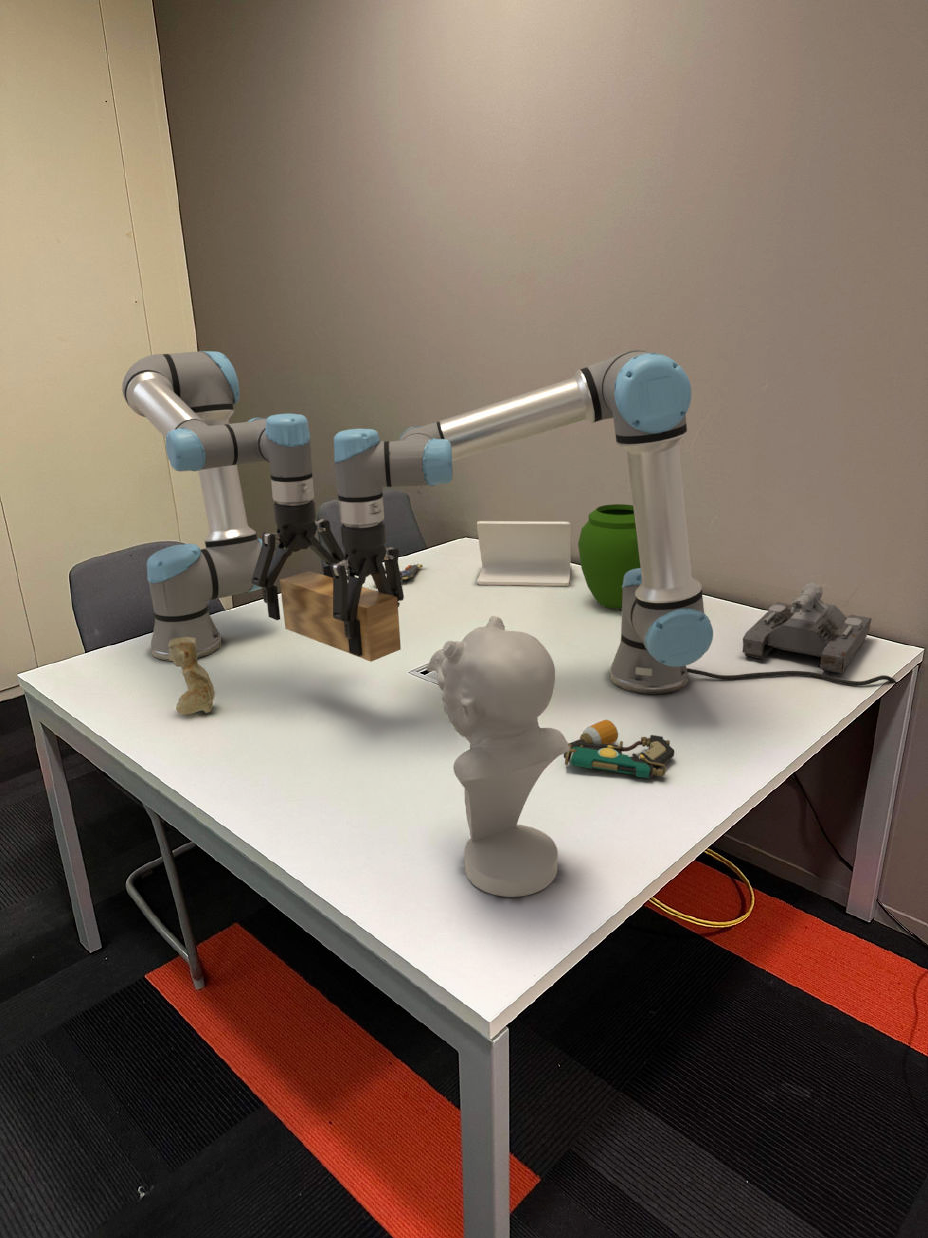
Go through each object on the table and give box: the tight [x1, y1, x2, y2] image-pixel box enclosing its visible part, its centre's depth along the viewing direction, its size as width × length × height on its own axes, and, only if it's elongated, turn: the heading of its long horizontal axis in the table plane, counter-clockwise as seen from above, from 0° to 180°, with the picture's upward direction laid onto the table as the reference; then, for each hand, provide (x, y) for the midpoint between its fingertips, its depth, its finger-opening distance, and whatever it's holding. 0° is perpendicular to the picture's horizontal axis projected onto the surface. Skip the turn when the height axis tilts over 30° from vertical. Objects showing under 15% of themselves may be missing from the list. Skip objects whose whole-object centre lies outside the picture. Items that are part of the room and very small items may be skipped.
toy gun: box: [374, 563, 424, 587], centre depth 239 cm, size 3×19×10 cm
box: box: [279, 570, 402, 662], centre depth 157 cm, size 25×7×10 cm, turn 47°
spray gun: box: [563, 719, 675, 779], centre depth 142 cm, size 4×17×15 cm
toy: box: [742, 582, 872, 675], centre depth 182 cm, size 25×20×15 cm
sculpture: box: [168, 637, 216, 716], centre depth 162 cm, size 6×7×15 cm
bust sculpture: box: [426, 615, 570, 898], centre depth 115 cm, size 16×24×35 cm, turn 28°
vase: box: [577, 503, 641, 610], centre depth 210 cm, size 20×20×24 cm
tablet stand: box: [476, 520, 572, 587], centre depth 236 cm, size 18×25×17 cm
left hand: (303, 608), depth 165 cm, fingers open, 13 cm apart
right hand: (372, 647), depth 153 cm, fingers closed on box, 7 cm apart
